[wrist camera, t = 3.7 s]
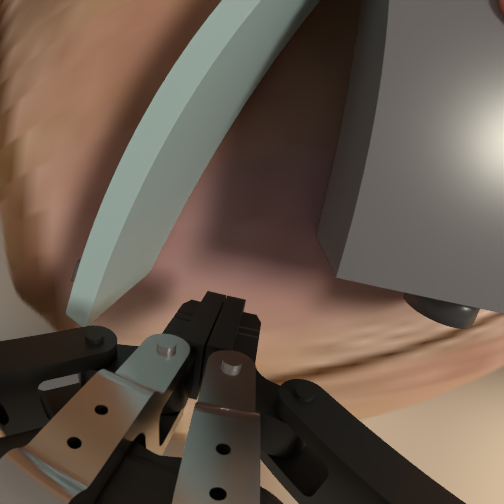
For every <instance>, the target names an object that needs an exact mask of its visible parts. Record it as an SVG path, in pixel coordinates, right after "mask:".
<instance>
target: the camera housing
mask: <svg viewBox="0 0 504 504" xmlns="http://www.w3.org/2000/svg"><path fill="white" fill-rule="evenodd" d="M316 237H317V239H318V241H319V243H320V245H321V247H322V249H323V251H324V253H325V255H326V257H327V260H328V262H329V264H330V266H331V268H332V270H333V272H334V275H335V277H336V278H340V279H344V280H349V281H354V282H358V283H363V284H367V285H372V286H377V287H381V288H386V289H391V290H395V291H400V292H405V293H404V299H405V301H406V302H407V303H408V304H409V305H410V306H411V307H412V308H413V309H415V310H416V311H417V312H419V313H421V314H422V315H424V316H426V317H427V318H429V319H431V320H434V321H436V322H438V323H441V324H443V325H446V326H450V327H453V328H459V329H468V328H470V327H472V326H473V323H474V321H475V319H476V317H477V314H478V312H479V310H480V309H485V310H490V311H495V312H500V313H504V0H361V4H360V12H359V20H358V28H357V35H356V42H355V48H354V55H353V61H352V67H351V74H350V79H349V85H348V91H347V96H346V102H345V107H344V113H343V118H342V123H341V128H340V133H339V138H338V143H337V148H336V152H335V157H334V162H333V166H332V171H331V175H330V180H329V184H328V188H327V193H326V197H325V201H324V205H323V209H322V213H321V218H320V222H319V226H318V230H317V234H316Z"/></svg>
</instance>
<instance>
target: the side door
mask: <svg viewBox="0 0 504 504" xmlns="http://www.w3.org/2000/svg"><path fill="white" fill-rule="evenodd" d="M319 1H320V0H222V1H221V2H220V3H219V5H218V6H217V7H216V8H215V10H214V11H213V12H212V13H211V15H210V16H209V17H208V18H207V20H206V21H205V22H204V24H203V25H202V26H201V28H200V29H199V30H198V32H197V33H196V34H195V36H194V37H193V38H192V40H191V41H190V43H189V44H188V45H187V47H186V48H185V50H184V51H183V53H182V54H181V55H180V57H179V58H178V60H177V61H176V63H175V64H174V66H173V67H172V69H171V71H170V72H169V74H168V75H167V77H166V78H165V80H164V82H163V83H162V85H161V87H160V88H159V90H158V91H157V93H156V95H155V96H154V98H153V100H152V102H151V103H150V105H149V107H148V109H147V110H146V112H145V114H144V116H143V118H142V119H141V121H140V123H139V125H138V127H137V129H136V131H135V132H134V134H133V136H132V138H131V140H130V142H129V144H128V146H127V148H126V150H125V152H124V154H123V156H122V158H121V161H120V163H119V165H118V167H117V169H116V171H115V173H114V176H113V178H112V180H111V182H110V185H109V187H108V189H107V192H106V194H105V196H104V199H103V201H102V204H101V206H100V209H99V211H98V214H97V216H96V219H95V221H94V224H93V227H92V229H91V232H90V235H89V238H88V241H87V243H86V246H85V249H84V252H83V255H82V258H81V259H80V260H78V261H77V263H76V267H75V270H74V273H73V277H72V280H71V281H73V282H74V284H73V288H72V291H71V295H70V299H69V302H68V306H67V310H66V314H67V315H68V316H69V317H70V318H72V319H73V320H74V321H75V322H77V323H78V324H79V325H80V326H82V327H86V326H89V325H90V324H91V323H93V322H94V321H95V320H96V319H97V318H98V317H99V316H100V315H101V314H103V313H104V312H105V311H106V310H107V309H108V308H109V307H110V306H112V305H113V304H114V303H115V302H116V301H117V300H118V299H120V298H121V297H122V296H123V295H124V294H125V293H126V292H128V291H129V290H130V289H131V288H132V287H133V286H135V285H136V284H137V283H138V282H139V281H140V280H142V279H143V278H144V277H145V276H146V275H147V274H149V273H150V272H151V270H152V268H153V266H154V264H155V262H156V260H157V258H158V256H159V254H160V252H161V250H162V248H163V246H164V244H165V242H166V240H167V238H168V236H169V234H170V232H171V230H172V228H173V226H174V224H175V223H176V221H177V219H178V217H179V215H180V213H181V211H182V209H183V208H184V206H185V204H186V202H187V200H188V198H189V197H190V195H191V193H192V191H193V189H194V188H195V186H196V184H197V182H198V181H199V179H200V177H201V175H202V174H203V172H204V170H205V168H206V167H207V165H208V163H209V162H210V160H211V158H212V156H213V155H214V153H215V151H216V150H217V148H218V146H219V145H220V143H221V142H222V140H223V138H224V137H225V135H226V133H227V132H228V130H229V129H230V127H231V125H232V124H233V122H234V121H235V119H236V117H237V116H238V114H239V113H240V111H241V110H242V108H243V107H244V105H245V103H246V102H247V100H248V99H249V97H250V96H251V94H252V93H253V91H254V90H255V88H256V87H257V85H258V84H259V82H260V81H261V79H262V78H263V77H264V75H265V74H266V72H267V71H268V69H269V68H270V66H271V65H272V64H273V62H274V61H275V59H276V58H277V57H278V55H279V54H280V52H281V51H282V50H283V48H284V47H285V46H286V44H287V43H288V41H289V40H290V39H291V37H292V36H293V35H294V33H295V32H296V31H297V29H298V28H299V27H300V26H301V24H302V23H303V22H304V20H305V19H306V18H307V16H308V15H309V14H310V13H311V11H312V10H313V9H314V8H315V6H316V5H317V4H318V3H319Z"/></svg>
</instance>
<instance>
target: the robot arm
mask: <svg viewBox="0 0 504 504" xmlns="http://www.w3.org/2000/svg"><path fill="white" fill-rule="evenodd" d="M245 302H246V300H244V299H240V298H236V297H231V296H227V298H226V295H222V294H218V293H214V292H210V291H207V293H206V295H205V296H204V298H203V300H202V301H201V302H199V301H195V300H190V301H188V302H186V303H184V304H182V306H181V307H180V308H179V310H178V312H177V313H176V314H175V316H174V318H172V320H171V321H170V323H169V324H168V326H167V327H166V329H165V330H164V331H163V333H162V334H155V335H152V336H150V337H148V338H147V339H146V340H145V341H144V342H143V343H142V344H141V345H140V346H129V345H120V344H117V337H116V335H115V334H114V332H112V331H111V330H109V329H107V328H105V327H101V326H86V327H80V328H75V329H70V330H64V331H59V332H54V333H48V334H42V335H36V336H30V337H24V338H19V339H12V340H6V341H0V504H283V503H282V502H281V501H280V500H279V499H278V498H277V497H275V496H274V495H273V494H271V493H270V492H269V491H267V490H266V489H264V488H262V487H261V486H260V459H261V460H262V461H263V463H264V464H265V465H266V466H267V468H268V469H269V470H270V471H271V472H272V474H273V475H274V476H275V477H276V478H277V480H278V481H279V482H280V483H281V484H282V485H283V486H284V488H285V489H286V490H287V491H288V492H289V493H290V494H291V495H292V497H293V498H294V499H295V500H296V501H297V502H298V503H299V504H466V503H464V502H463V501H462V500H460V499H459V498H457V497H456V496H455V495H453V494H452V493H450V492H449V491H448V490H446V489H445V488H444V487H442V486H441V485H440V484H438V483H437V482H435V481H434V480H433V479H431V478H430V477H429V476H428V475H426V474H425V473H424V472H422V471H421V470H420V469H418V468H417V467H416V466H414V465H413V464H412V463H410V462H409V461H408V460H407V459H406V458H404V457H403V456H402V455H401V454H399V453H398V452H397V451H395V450H394V449H393V448H392V447H391V446H389V445H388V444H387V443H386V442H384V441H383V440H382V439H381V438H380V437H378V436H377V435H376V434H375V433H373V432H372V431H371V430H370V429H369V428H367V427H366V426H365V425H364V424H363V423H362V422H360V421H359V420H358V419H357V418H356V417H354V416H353V415H352V414H351V413H350V412H349V411H347V410H346V409H345V408H344V407H343V406H342V405H340V404H339V403H338V402H337V401H336V400H335V399H334V398H332V397H331V396H330V395H329V394H328V393H327V392H326V391H325V390H323V389H322V388H321V387H320V386H318V385H317V384H315V383H313V382H310V381H307V380H303V379H292V380H288V381H286V382H284V383H283V384H282V385H281V386H280V385H278V384H275V383H273V382H271V381H269V380H267V379H265V378H264V377H263V376H262V375H261V374H260V373H259V372H258V371H257V369H256V365H255V360H256V354H257V347H258V340H259V333H260V326H261V322H260V320H259V318H258V317H257V315H254V314H250V313H245V312H243V311H244V307H245ZM77 373H78V378H79V383H76V384H72V385H68V386H64V387H60V388H56V389H51V390H46V391H42V390H39V389H38V386H39V384H40V383H42V382H43V381H46V380H50V379H55V378H59V377H64V376H68V375H72V374H77ZM199 391H200V393H199ZM198 394H199V398H198V402H196V404H195V407H194V411H193V415H192V419H191V423H190V427H189V432H188V436H187V440H186V444H185V449H184V453H183V457H182V458H179V457H168V456H162V454H163V452H164V450H165V448H166V446H167V444H168V442H169V440H170V438H171V436H172V435H173V433H174V431H175V429H176V427H177V425H178V423H179V421H180V419H181V417H182V415H183V411H184V407H185V405H186V403H187V400H188V398H192V399H196V400H197V397H198Z"/></svg>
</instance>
